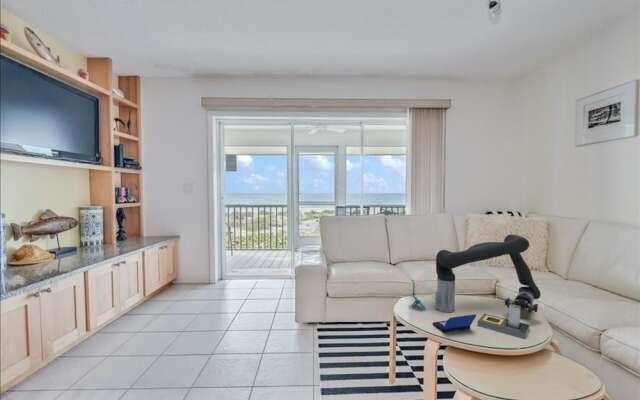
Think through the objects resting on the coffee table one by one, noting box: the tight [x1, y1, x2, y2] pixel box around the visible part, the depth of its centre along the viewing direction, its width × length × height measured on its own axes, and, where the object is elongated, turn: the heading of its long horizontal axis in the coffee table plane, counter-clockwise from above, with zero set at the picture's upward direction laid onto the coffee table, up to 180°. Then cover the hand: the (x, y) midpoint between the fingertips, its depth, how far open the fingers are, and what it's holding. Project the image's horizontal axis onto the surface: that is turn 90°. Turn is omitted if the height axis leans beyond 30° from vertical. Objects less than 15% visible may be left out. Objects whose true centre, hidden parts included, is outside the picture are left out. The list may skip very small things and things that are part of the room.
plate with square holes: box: [477, 313, 531, 340], centre depth 154 cm, size 20×12×3 cm, turn 48°
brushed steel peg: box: [508, 303, 521, 329], centre depth 150 cm, size 4×4×12 cm
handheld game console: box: [432, 314, 477, 334], centre depth 152 cm, size 16×13×9 cm
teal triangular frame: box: [411, 294, 427, 310], centre depth 178 cm, size 11×6×10 cm
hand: (518, 308), depth 158 cm, fingers open, 8 cm apart
